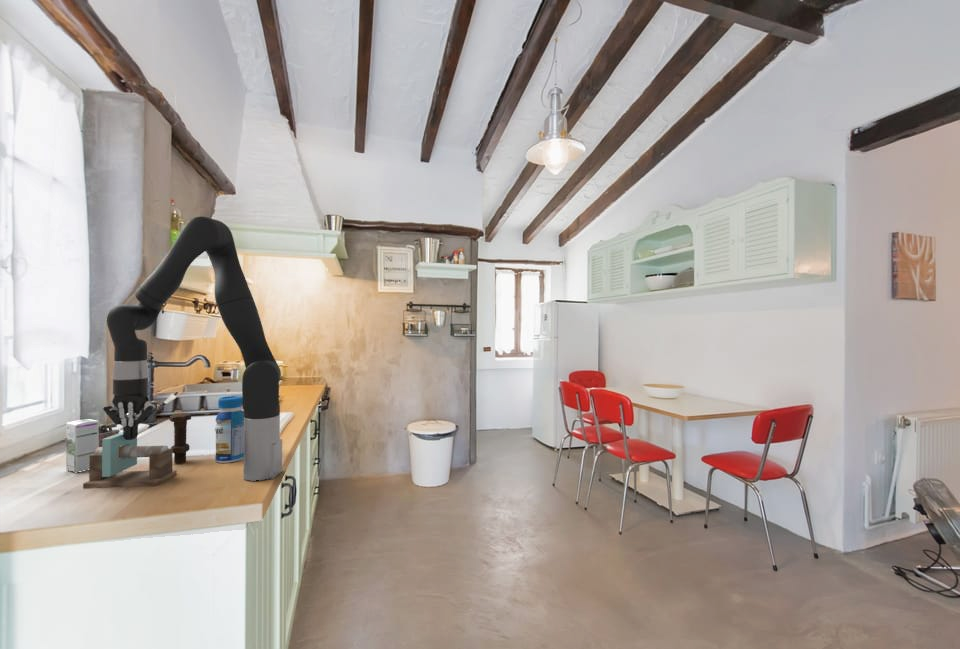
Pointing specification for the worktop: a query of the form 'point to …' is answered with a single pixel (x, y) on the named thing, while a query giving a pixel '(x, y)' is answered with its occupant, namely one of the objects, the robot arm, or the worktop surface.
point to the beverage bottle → (229, 430)
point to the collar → (116, 455)
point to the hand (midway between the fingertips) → (130, 439)
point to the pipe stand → (157, 471)
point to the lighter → (106, 432)
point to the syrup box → (81, 443)
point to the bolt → (180, 437)
